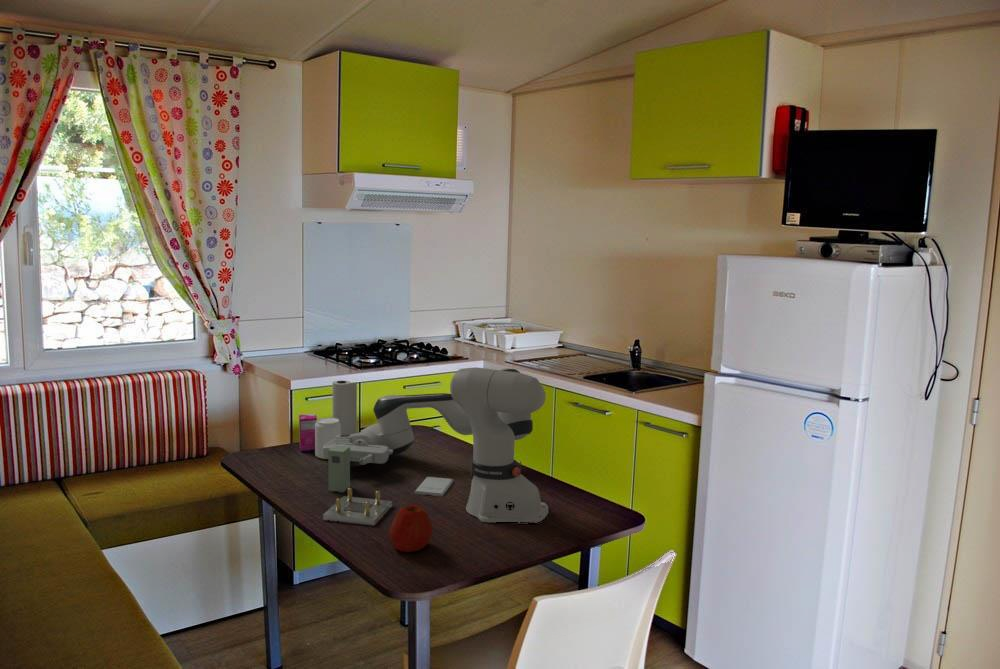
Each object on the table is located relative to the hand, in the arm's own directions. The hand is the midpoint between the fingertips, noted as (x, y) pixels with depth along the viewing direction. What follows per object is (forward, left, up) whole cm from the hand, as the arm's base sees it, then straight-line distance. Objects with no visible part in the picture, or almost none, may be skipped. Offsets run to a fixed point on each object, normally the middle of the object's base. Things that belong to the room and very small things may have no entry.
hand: (346, 460), depth 241 cm
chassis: (-12, +23, -6) cm, 27 cm away
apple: (-32, +40, -6) cm, 52 cm away
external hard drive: (-27, -1, -7) cm, 28 cm away
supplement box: (+24, -25, -6) cm, 35 cm away
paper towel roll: (+16, -35, -6) cm, 39 cm away
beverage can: (+15, -20, -6) cm, 26 cm away
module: (0, +7, -6) cm, 9 cm away
